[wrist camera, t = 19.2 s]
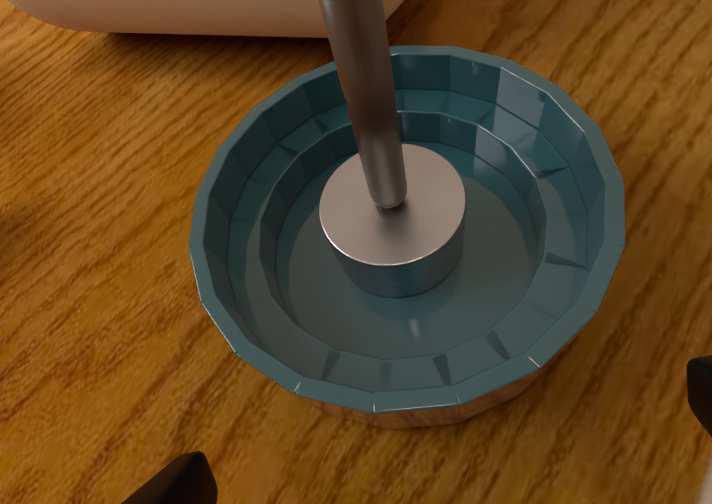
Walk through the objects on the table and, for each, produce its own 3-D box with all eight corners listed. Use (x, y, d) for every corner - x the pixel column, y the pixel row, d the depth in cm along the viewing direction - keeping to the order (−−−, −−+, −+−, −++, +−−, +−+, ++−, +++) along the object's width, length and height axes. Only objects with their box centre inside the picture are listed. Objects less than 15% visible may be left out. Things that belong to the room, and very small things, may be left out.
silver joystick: (424, 321, 17) (382, 13, 6) (311, 263, 19) (124, -45, 8) (485, 213, 19) (543, -184, 8) (376, 170, 21) (295, -190, 10)
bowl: (674, 326, 16) (747, 275, 12) (294, 499, 16) (243, 504, 12) (470, 79, 24) (475, -1, 20) (210, 192, 23) (162, 133, 19)
